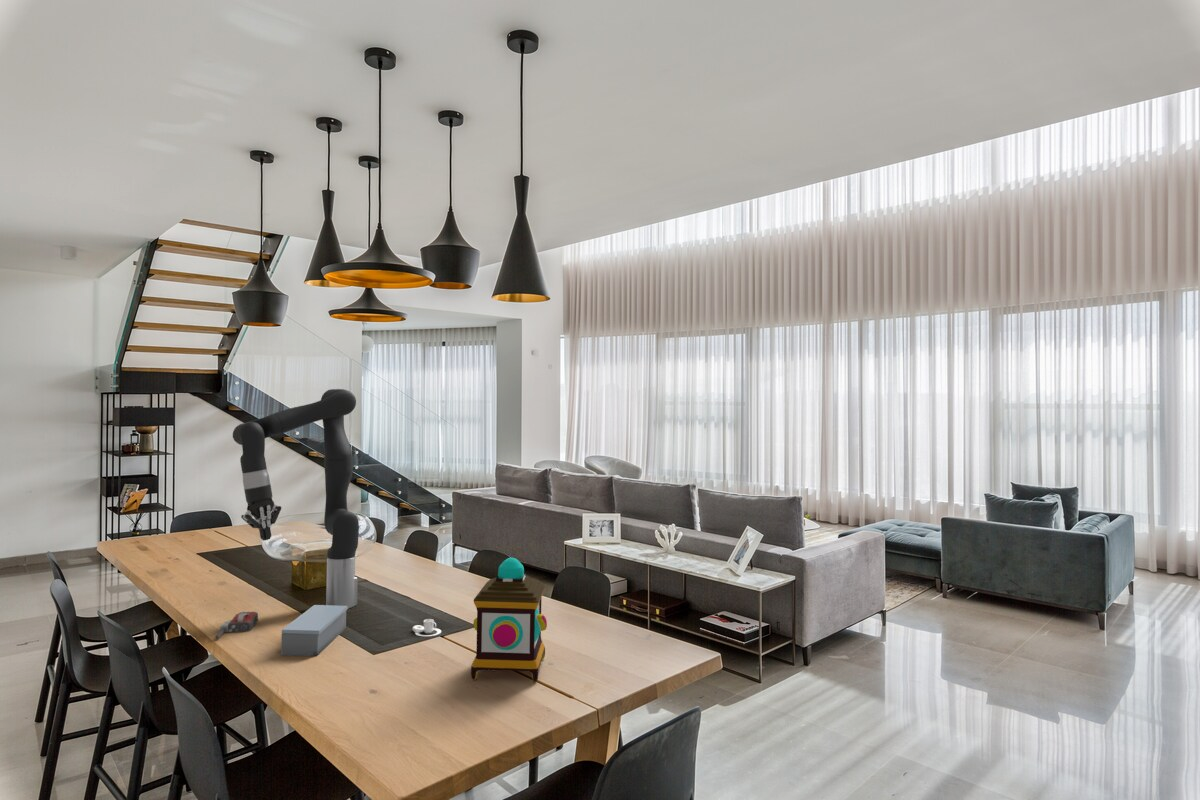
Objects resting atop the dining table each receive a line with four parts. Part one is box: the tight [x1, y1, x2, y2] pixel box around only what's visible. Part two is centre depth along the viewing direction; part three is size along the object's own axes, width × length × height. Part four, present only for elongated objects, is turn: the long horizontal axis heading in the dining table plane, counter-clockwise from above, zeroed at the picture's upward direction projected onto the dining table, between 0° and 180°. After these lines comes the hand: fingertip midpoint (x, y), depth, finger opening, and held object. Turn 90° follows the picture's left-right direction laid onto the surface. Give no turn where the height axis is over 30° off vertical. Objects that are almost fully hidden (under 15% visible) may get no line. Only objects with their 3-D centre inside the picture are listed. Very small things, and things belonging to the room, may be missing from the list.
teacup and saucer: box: [412, 618, 442, 637], centre depth 217 cm, size 9×8×4 cm
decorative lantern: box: [470, 557, 548, 683], centre depth 188 cm, size 20×20×30 cm
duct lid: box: [281, 604, 349, 634], centre depth 207 cm, size 10×24×1 cm, turn 2°
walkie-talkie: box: [215, 611, 259, 639], centre depth 216 cm, size 9×4×20 cm
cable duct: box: [280, 610, 347, 657], centre depth 207 cm, size 10×24×6 cm, turn 2°
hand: (266, 539), depth 219 cm, fingers closed
